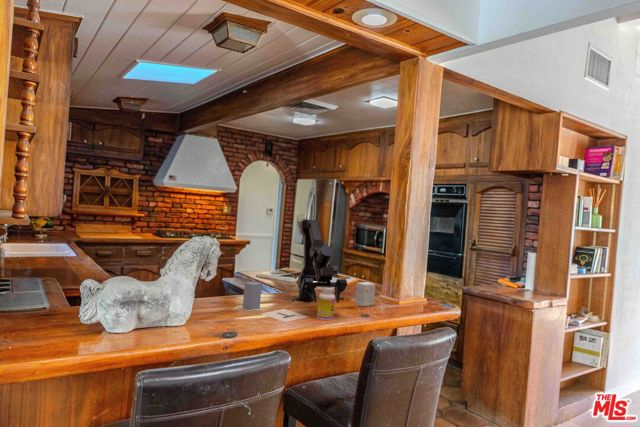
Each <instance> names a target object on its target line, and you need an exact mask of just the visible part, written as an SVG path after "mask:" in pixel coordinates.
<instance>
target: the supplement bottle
mask: <svg viewBox="0 0 640 427" xmlns="http://www.w3.org/2000/svg"><path fill="white" fill-rule="evenodd" d="M333 293H334V287H321V293H319V295H318V302H317V313H316V318H317V319H319V320H322V321H332V320H334V312H335V302H336V297H335V294H333Z"/></svg>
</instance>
